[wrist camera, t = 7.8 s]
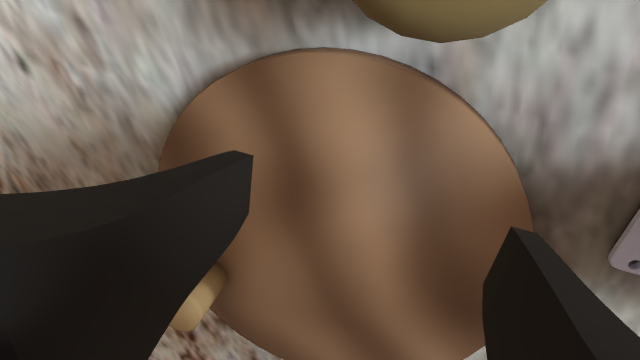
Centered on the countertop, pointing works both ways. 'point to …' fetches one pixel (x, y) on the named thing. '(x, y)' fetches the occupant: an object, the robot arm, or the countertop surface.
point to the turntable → (352, 208)
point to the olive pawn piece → (447, 17)
